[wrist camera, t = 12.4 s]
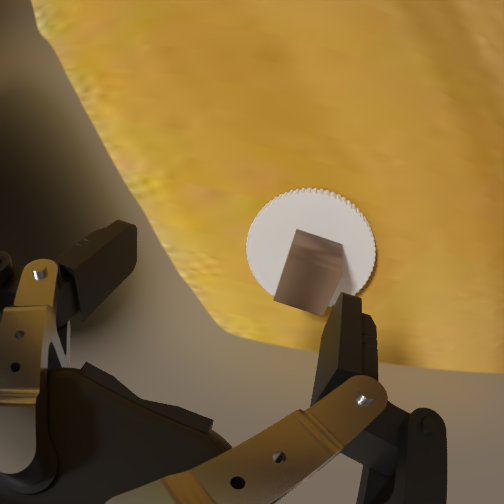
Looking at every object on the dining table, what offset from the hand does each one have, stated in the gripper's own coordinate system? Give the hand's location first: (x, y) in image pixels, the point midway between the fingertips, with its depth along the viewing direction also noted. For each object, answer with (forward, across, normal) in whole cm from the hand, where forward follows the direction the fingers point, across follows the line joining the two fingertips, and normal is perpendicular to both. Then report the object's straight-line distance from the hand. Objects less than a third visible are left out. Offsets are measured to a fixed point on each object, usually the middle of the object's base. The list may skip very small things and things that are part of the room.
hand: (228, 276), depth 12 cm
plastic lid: (+23, -4, +10) cm, 26 cm away
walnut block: (+21, -4, +10) cm, 23 cm away
